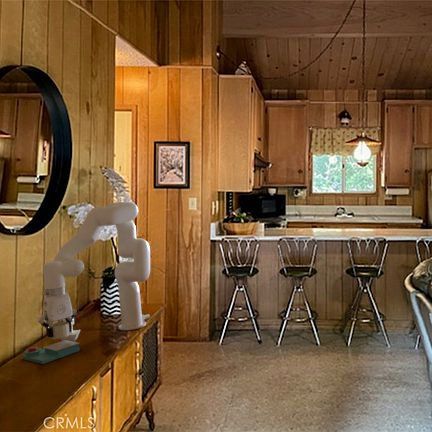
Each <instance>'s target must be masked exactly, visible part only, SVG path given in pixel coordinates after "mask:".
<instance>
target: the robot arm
mask: <svg viewBox="0 0 432 432" xmlns="http://www.w3.org/2000/svg"><path fill="white" fill-rule="evenodd" d="M138 215H139V207H138V206H137V204H136V203H135V202H132V201H117V202H110V203H108V204H107V205H106V206H96V207H93V208H91V209H90V210H89V212H88V213H87V215H86V216H85V219H84V220H83V222H82V224H81V225H80V227H79V229H78V231H77V232H76V234H75V235H74V236H73V237H71V238H70V239H69V240H68V241H67V242H66V243H64V244H63V245H62V247H61V248H60V249H59V250H58V251H57V252H58V253H57V254H56V255H55V257H54V258H53V260H52V261H48V262H45V263H43V265H42V270H43V271H42V272H43V281H44V291H43V292H42V295H43V296H44V298H43V313H42V315H41V316H40V317H39V318H38V319H37V322H38V323H39V324H40V325H41V326H42V327H44V328H45V331H46V332H45V333H46V337H47V338H50V339H51V338H53V328H51V326H52V324H53V323H55V322H59V321H63V319H65V320H66V322H68V323H69V331H70V332H72V327H73V325H71V322H72V321H73V318H74V319H75V316H76V314H77V309H75V308H73V307H72V301H71V298H70V295H69V293H68V292H67V289H66V278H72V277H79V276H80V275H82V274H83V272H84V271H85V263H84V262H83V261H82V260H81V259H79V258H75V257H76V256H77V254H79V253H80V252H82V251H84V250H86V249H87V248H90V247H91V246H93V245H95V244H96V243H97V240H98V239H99V237H100V235H101V233H102V231H103V230H104V227H105V226H115V227H116V232H117V233H116V235H117V255H118V256H119V257H121V258H122V259H131V260H125V261H121V262H119V263H118V264H116V266H115V267H114V277H115V280H116V284H117V289H118V300H119V310H120V321H121V322H120V323H121V324H119V325H118V330H120V331H133V330H138V329H141V328H143V327H145V326H146V325H147V322H146V321H145V320H147V319H150V318H151V315H150V314H149V313H148V314H145V315H144V314H143V313H142V301H141V292H140V291H141V290H140V285H139V284H138V283H143V282H146V281H147V280H148V279H149V277H150V274H151V246H150V244H149V242H148V241H147V240H146V239H144V238H140V237H139V238H137V228H136V227H137V226H136V225H135V222H134V219H136V218H137V216H138ZM132 259H133V261H132Z"/></svg>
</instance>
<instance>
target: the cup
mask: <svg viewBox="0 0 432 432" xmlns="http://www.w3.org/2000/svg"><path fill="white" fill-rule="evenodd" d="M51 328H53V338H50V339H51V340H61V339H60V338H64V337H67V336H69V335H70V331H69V323H68V322H63V321H57V322H53V323H52V326H51Z"/></svg>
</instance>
